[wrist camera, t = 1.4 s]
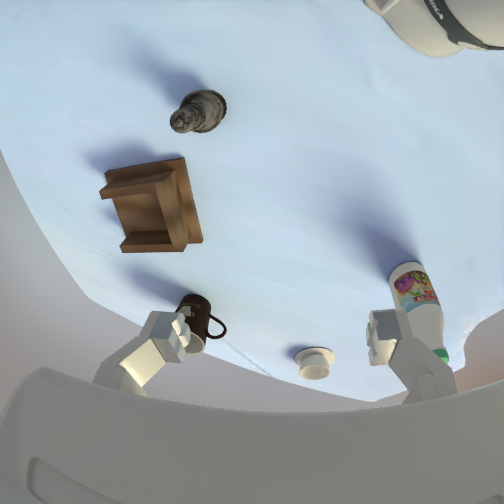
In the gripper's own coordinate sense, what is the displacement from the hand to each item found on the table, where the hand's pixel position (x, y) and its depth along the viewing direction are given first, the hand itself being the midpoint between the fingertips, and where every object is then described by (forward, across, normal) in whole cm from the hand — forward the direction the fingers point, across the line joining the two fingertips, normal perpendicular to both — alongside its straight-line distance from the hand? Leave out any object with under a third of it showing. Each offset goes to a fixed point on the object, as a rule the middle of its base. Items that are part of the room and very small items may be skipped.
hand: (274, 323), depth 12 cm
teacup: (+32, -3, +52) cm, 61 cm away
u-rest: (+32, +23, +8) cm, 40 cm away
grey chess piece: (+32, +10, -6) cm, 34 cm away
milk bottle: (+32, -21, +26) cm, 46 cm away
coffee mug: (+32, +20, +33) cm, 50 cm away
